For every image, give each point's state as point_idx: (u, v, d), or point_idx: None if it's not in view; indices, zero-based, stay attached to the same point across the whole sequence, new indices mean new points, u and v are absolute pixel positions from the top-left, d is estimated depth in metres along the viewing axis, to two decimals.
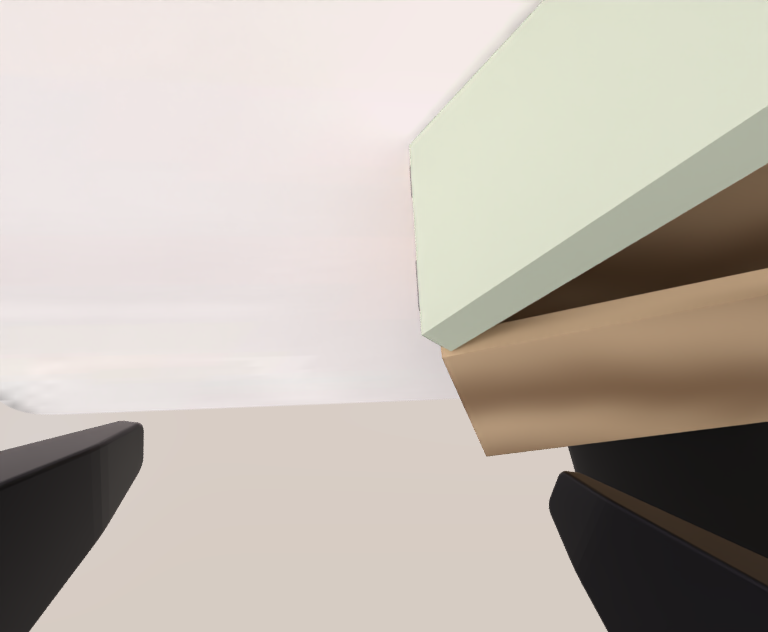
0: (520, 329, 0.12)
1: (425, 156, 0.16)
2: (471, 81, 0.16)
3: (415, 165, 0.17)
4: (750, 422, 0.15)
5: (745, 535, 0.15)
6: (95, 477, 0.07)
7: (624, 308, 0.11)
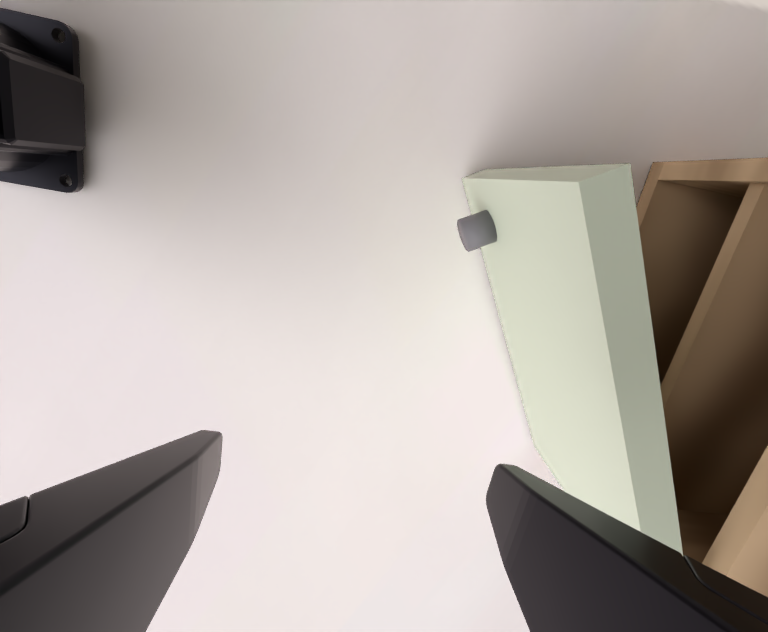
0: None
1: (547, 459, 0.22)
2: (522, 399, 0.23)
3: (548, 465, 0.22)
4: None
5: None
6: (193, 486, 0.07)
7: (747, 507, 0.13)
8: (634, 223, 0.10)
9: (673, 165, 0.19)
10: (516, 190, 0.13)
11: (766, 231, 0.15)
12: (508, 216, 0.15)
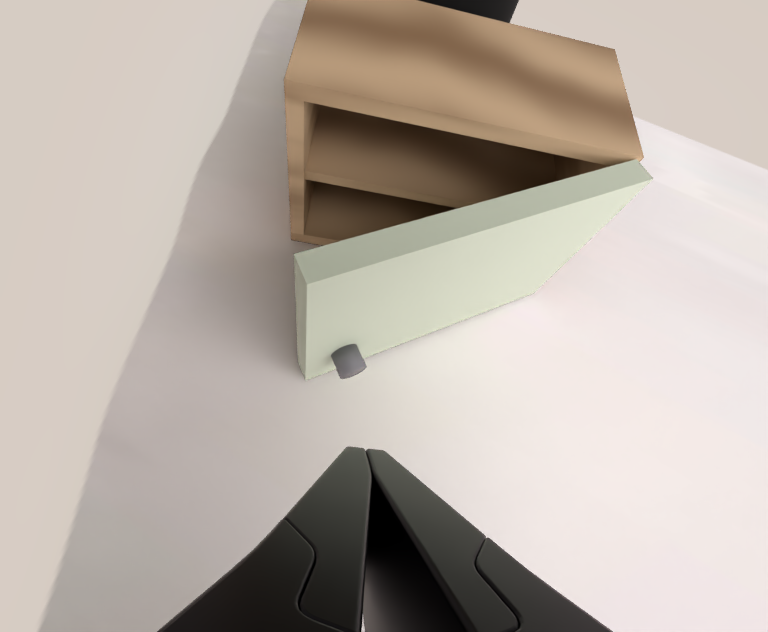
0: (589, 154, 0.19)
1: (540, 280, 0.25)
2: (492, 307, 0.26)
3: (547, 278, 0.26)
4: (439, 7, 0.21)
5: None
6: None
7: (533, 142, 0.18)
8: (334, 245, 0.14)
9: (293, 226, 0.25)
10: (314, 330, 0.17)
11: (337, 164, 0.22)
12: (334, 335, 0.18)
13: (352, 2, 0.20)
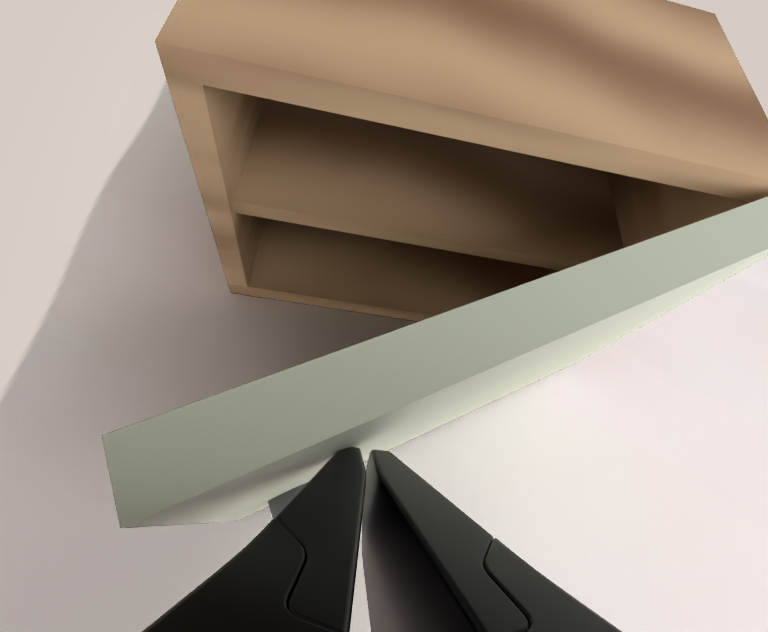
0: (707, 181, 0.11)
1: (590, 353, 0.18)
2: None
3: (598, 349, 0.18)
4: None
5: None
6: None
7: (613, 160, 0.11)
8: (215, 397, 0.06)
9: (230, 276, 0.17)
10: (210, 515, 0.09)
11: (286, 189, 0.14)
12: (261, 497, 0.10)
13: None
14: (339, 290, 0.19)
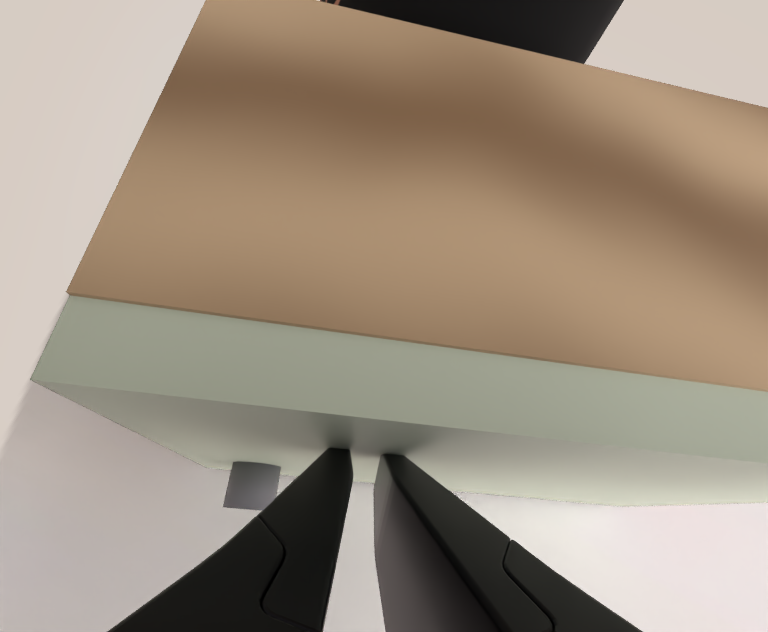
0: None
1: (642, 503, 0.14)
2: (542, 498, 0.16)
3: (654, 504, 0.15)
4: (488, 44, 0.10)
5: None
6: (348, 501, 0.07)
7: None
8: (182, 315, 0.06)
9: None
10: (158, 436, 0.09)
11: None
12: (218, 450, 0.10)
13: (298, 39, 0.09)
14: None
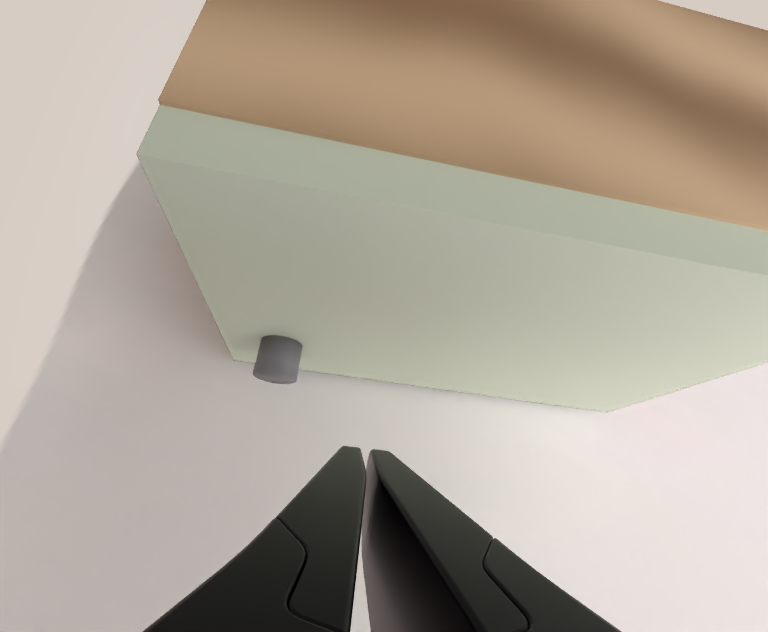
0: None
1: (623, 398, 0.16)
2: (534, 400, 0.17)
3: (635, 400, 0.16)
4: None
5: None
6: None
7: None
8: (244, 128, 0.08)
9: None
10: (207, 277, 0.10)
11: None
12: (253, 307, 0.12)
13: None
14: None
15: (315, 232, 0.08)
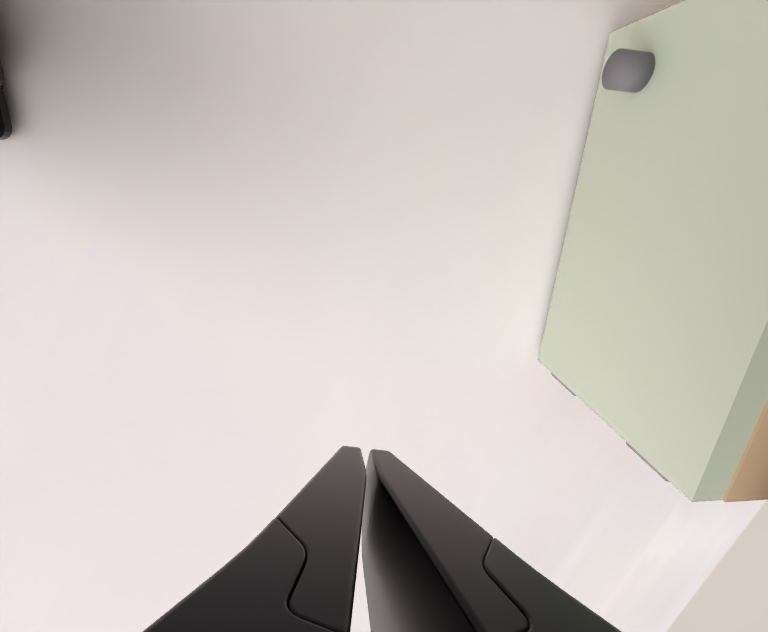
0: None
1: (561, 364, 0.21)
2: (553, 302, 0.22)
3: (558, 372, 0.22)
4: None
5: None
6: None
7: None
8: None
9: None
10: None
11: None
12: (703, 34, 0.14)
13: None
14: None
15: None
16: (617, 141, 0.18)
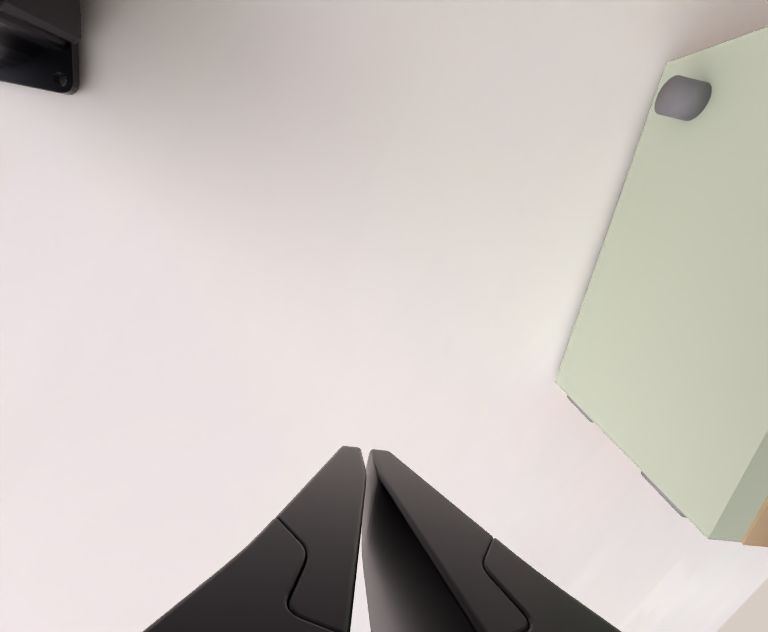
0: None
1: (579, 387, 0.21)
2: (578, 325, 0.22)
3: (575, 396, 0.21)
4: None
5: None
6: None
7: None
8: None
9: None
10: None
11: None
12: (765, 66, 0.14)
13: None
14: None
15: None
16: (663, 167, 0.18)
